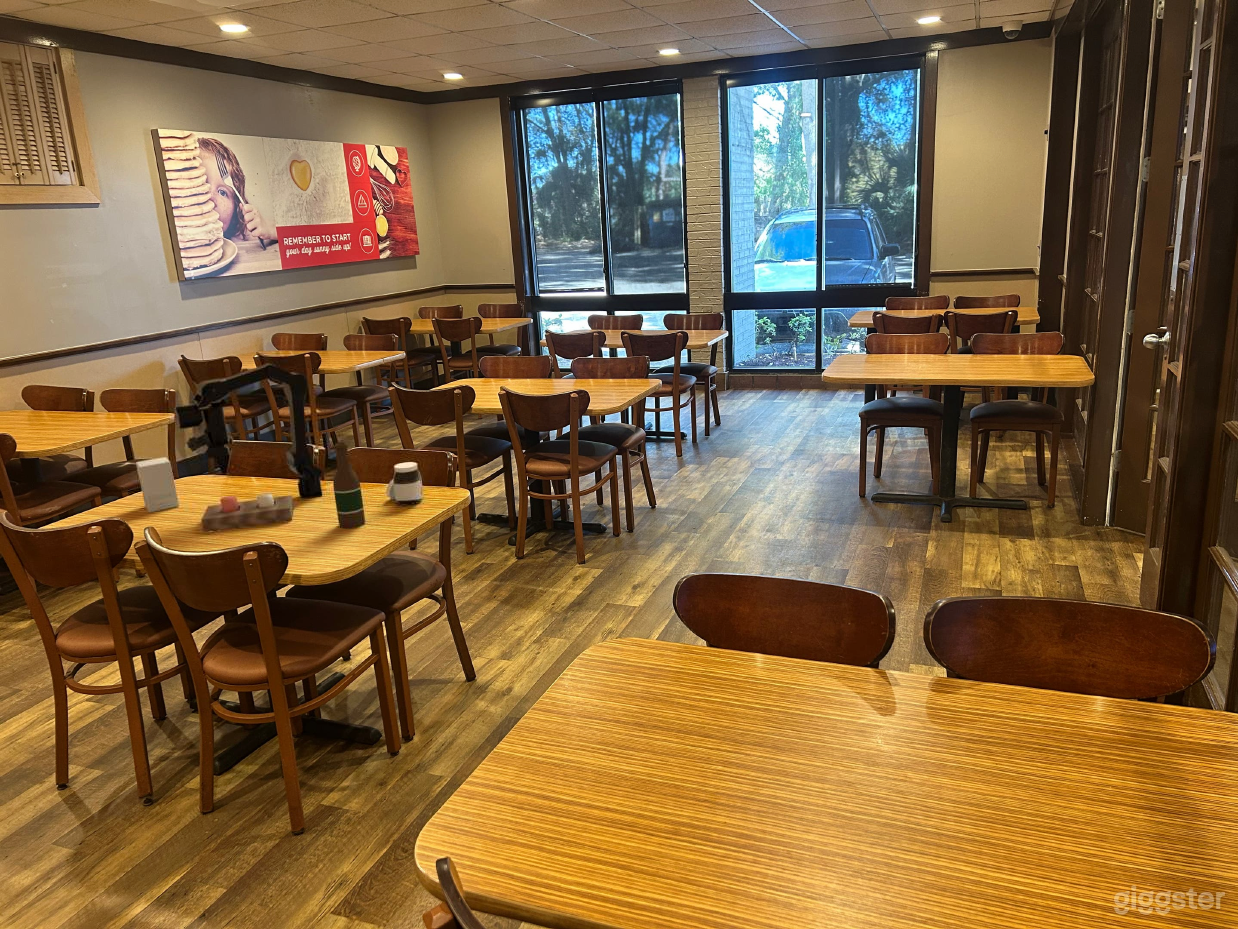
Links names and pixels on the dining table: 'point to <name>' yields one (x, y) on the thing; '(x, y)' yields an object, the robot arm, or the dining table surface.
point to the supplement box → (157, 484)
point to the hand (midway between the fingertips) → (224, 473)
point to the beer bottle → (347, 491)
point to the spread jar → (406, 484)
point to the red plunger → (229, 504)
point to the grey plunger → (265, 500)
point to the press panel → (248, 514)
